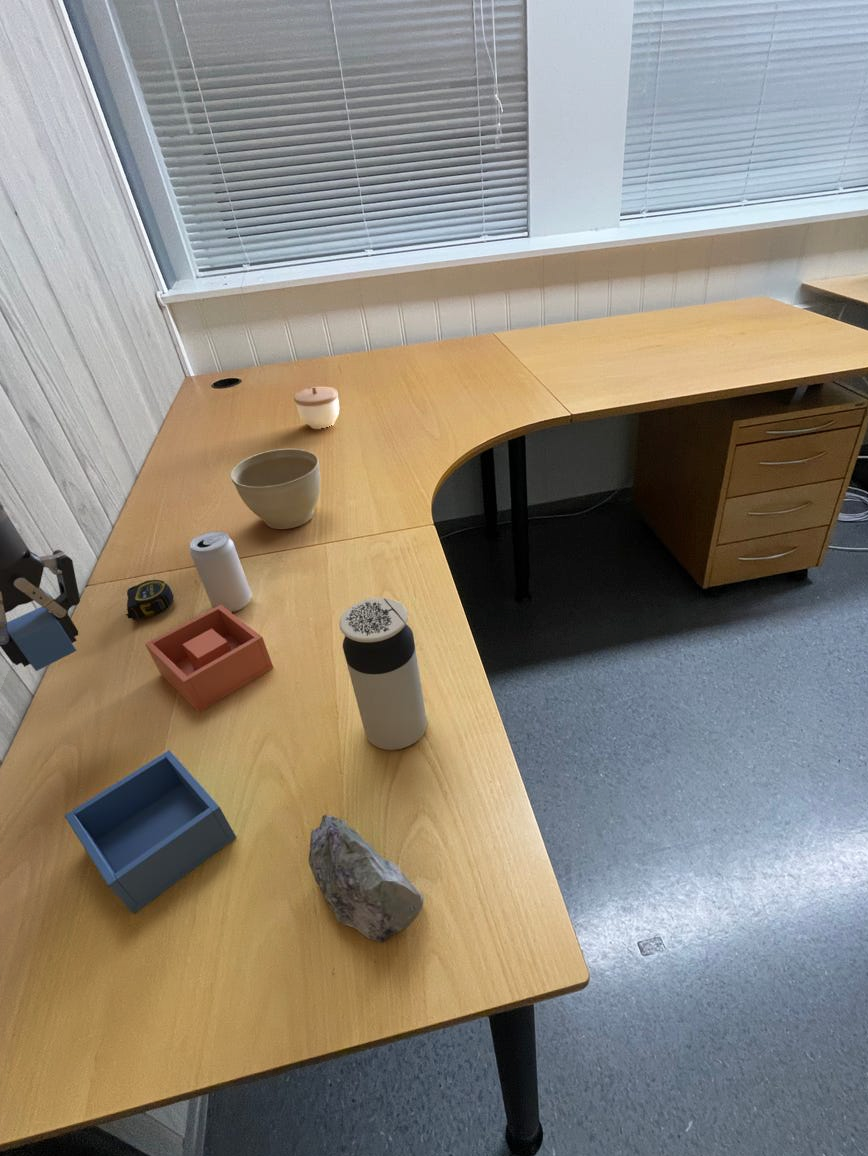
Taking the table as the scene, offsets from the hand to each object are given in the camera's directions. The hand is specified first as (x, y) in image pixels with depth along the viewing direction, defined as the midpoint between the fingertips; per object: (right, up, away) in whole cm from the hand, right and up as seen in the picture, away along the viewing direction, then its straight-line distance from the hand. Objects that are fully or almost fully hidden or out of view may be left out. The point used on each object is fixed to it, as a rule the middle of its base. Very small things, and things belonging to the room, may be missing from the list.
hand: (48, 650), depth 72 cm
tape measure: (-4, +6, +29) cm, 30 cm away
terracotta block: (+12, -3, +17) cm, 21 cm away
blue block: (0, 0, 0) cm, 0 cm away
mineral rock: (+39, -24, -9) cm, 46 cm away
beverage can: (+10, +7, +30) cm, 32 cm away
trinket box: (+10, +56, +87) cm, 104 cm away
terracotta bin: (+12, -3, +17) cm, 21 cm away
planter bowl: (+13, +25, +51) cm, 58 cm away
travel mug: (+40, -10, +7) cm, 42 cm away
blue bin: (+15, -21, -4) cm, 26 cm away
